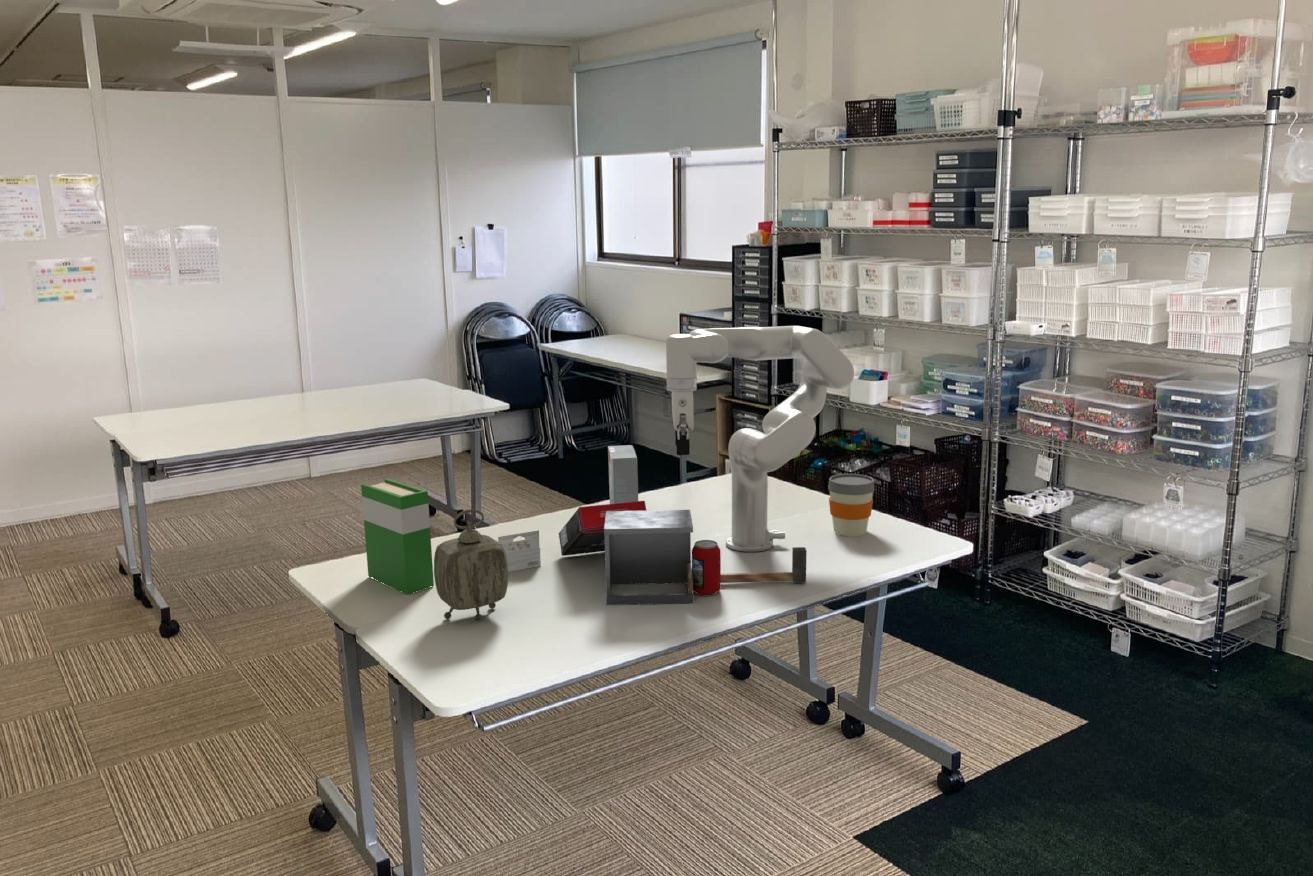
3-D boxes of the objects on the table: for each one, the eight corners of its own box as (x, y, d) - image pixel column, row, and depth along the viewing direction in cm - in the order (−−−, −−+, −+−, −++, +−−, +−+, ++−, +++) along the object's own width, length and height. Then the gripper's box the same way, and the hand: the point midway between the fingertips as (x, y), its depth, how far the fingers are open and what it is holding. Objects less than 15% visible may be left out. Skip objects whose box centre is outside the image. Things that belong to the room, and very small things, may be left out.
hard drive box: (609, 510, 312) (607, 445, 307) (634, 509, 312) (633, 444, 308) (613, 525, 297) (611, 457, 292) (639, 524, 297) (638, 456, 293)
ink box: (496, 571, 261) (494, 534, 259) (537, 564, 266) (536, 527, 264) (499, 574, 259) (497, 537, 257) (541, 566, 264) (539, 530, 262)
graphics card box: (619, 526, 278) (645, 496, 253) (624, 551, 276) (650, 524, 251) (557, 533, 272) (577, 504, 248) (561, 559, 270) (581, 532, 246)
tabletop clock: (496, 604, 238) (491, 500, 233) (513, 617, 231) (508, 509, 226) (436, 618, 231) (429, 511, 225) (452, 632, 223) (445, 521, 218)
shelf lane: (690, 581, 251) (690, 509, 247) (693, 603, 237) (692, 527, 233) (608, 583, 251) (606, 511, 247) (606, 605, 237) (604, 529, 233)
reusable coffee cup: (838, 540, 280) (839, 486, 277) (820, 526, 292) (821, 475, 289) (880, 536, 283) (882, 483, 280) (861, 523, 295) (862, 472, 292)
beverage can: (690, 587, 247) (689, 539, 245) (717, 586, 248) (717, 538, 245) (694, 598, 241) (693, 548, 238) (722, 596, 241) (722, 547, 239)
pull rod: (804, 578, 250) (804, 547, 249) (811, 595, 239) (812, 562, 238) (686, 581, 250) (686, 549, 248) (688, 598, 239) (688, 565, 237)
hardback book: (368, 577, 258) (360, 484, 252) (394, 570, 263) (387, 478, 258) (407, 595, 246) (400, 497, 240) (433, 586, 251) (427, 491, 245)
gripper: (698, 389, 251) (698, 458, 255) (694, 377, 268) (695, 442, 272) (667, 390, 251) (668, 458, 255) (665, 378, 268) (666, 443, 272)
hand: (682, 450), depth 263 cm, fingers open, 9 cm apart
